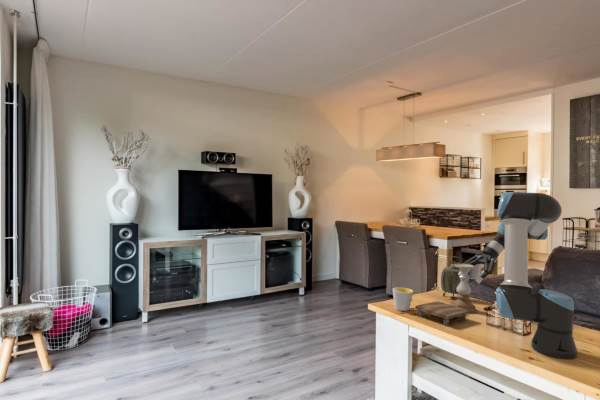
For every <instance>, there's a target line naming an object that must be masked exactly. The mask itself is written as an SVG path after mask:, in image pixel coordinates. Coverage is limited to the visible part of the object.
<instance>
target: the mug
mask: <svg viewBox="0 0 600 400" xmlns="http://www.w3.org/2000/svg"><path fill="white" fill-rule="evenodd" d="M392 293H393V294H392V296H393V303H394V304H393V305H394V307H395V310H396V311H399V312H407V311H409V309H410V308H411V304H412V303H411V302H412V300H413V295H414V294H413V293H414V290H413V289H412V288H408V287H397V286H396V287H393V288H392Z"/></svg>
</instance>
